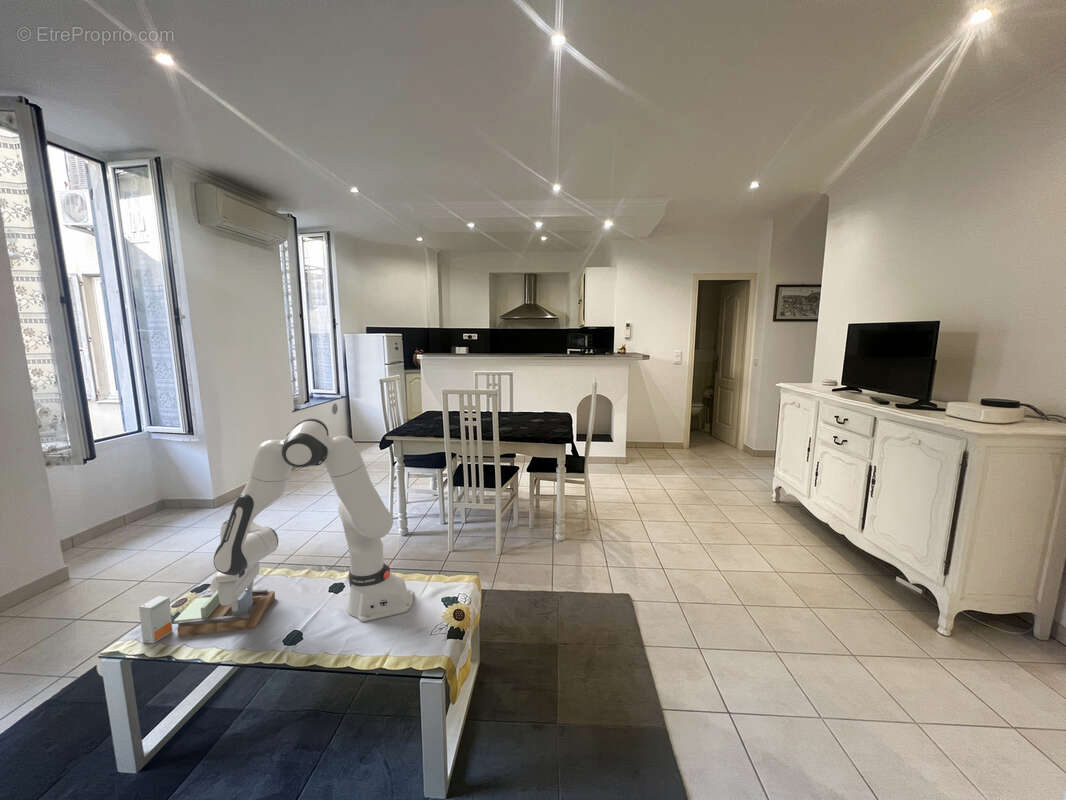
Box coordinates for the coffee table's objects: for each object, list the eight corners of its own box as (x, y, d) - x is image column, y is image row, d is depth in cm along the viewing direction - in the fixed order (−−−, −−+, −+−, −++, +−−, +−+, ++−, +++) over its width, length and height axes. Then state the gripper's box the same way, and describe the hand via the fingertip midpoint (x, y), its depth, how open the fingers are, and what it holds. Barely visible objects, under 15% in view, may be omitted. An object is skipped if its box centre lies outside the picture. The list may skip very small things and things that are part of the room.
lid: (225, 597, 146) (224, 586, 146) (206, 619, 135) (204, 607, 134) (195, 600, 144) (194, 589, 144) (173, 623, 133) (172, 610, 132)
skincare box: (153, 644, 128) (149, 608, 127) (142, 642, 129) (138, 606, 127) (173, 631, 134) (170, 596, 133) (162, 629, 135) (159, 595, 133)
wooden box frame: (275, 598, 152) (274, 587, 151) (255, 627, 136) (254, 616, 136) (206, 605, 147) (205, 594, 147) (178, 636, 132) (176, 624, 131)
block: (253, 610, 145) (251, 591, 144) (247, 618, 141) (245, 599, 140) (239, 611, 144) (237, 592, 143) (232, 619, 140) (230, 600, 139)
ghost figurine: (224, 604, 148) (222, 577, 147) (205, 598, 151) (203, 573, 150) (248, 589, 157) (246, 565, 155) (230, 585, 160) (228, 560, 158)
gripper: (243, 549, 150) (246, 584, 152) (212, 580, 130) (216, 621, 132) (263, 547, 151) (265, 582, 153) (235, 578, 131) (238, 619, 133)
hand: (242, 601), depth 142 cm, fingers open, 8 cm apart
